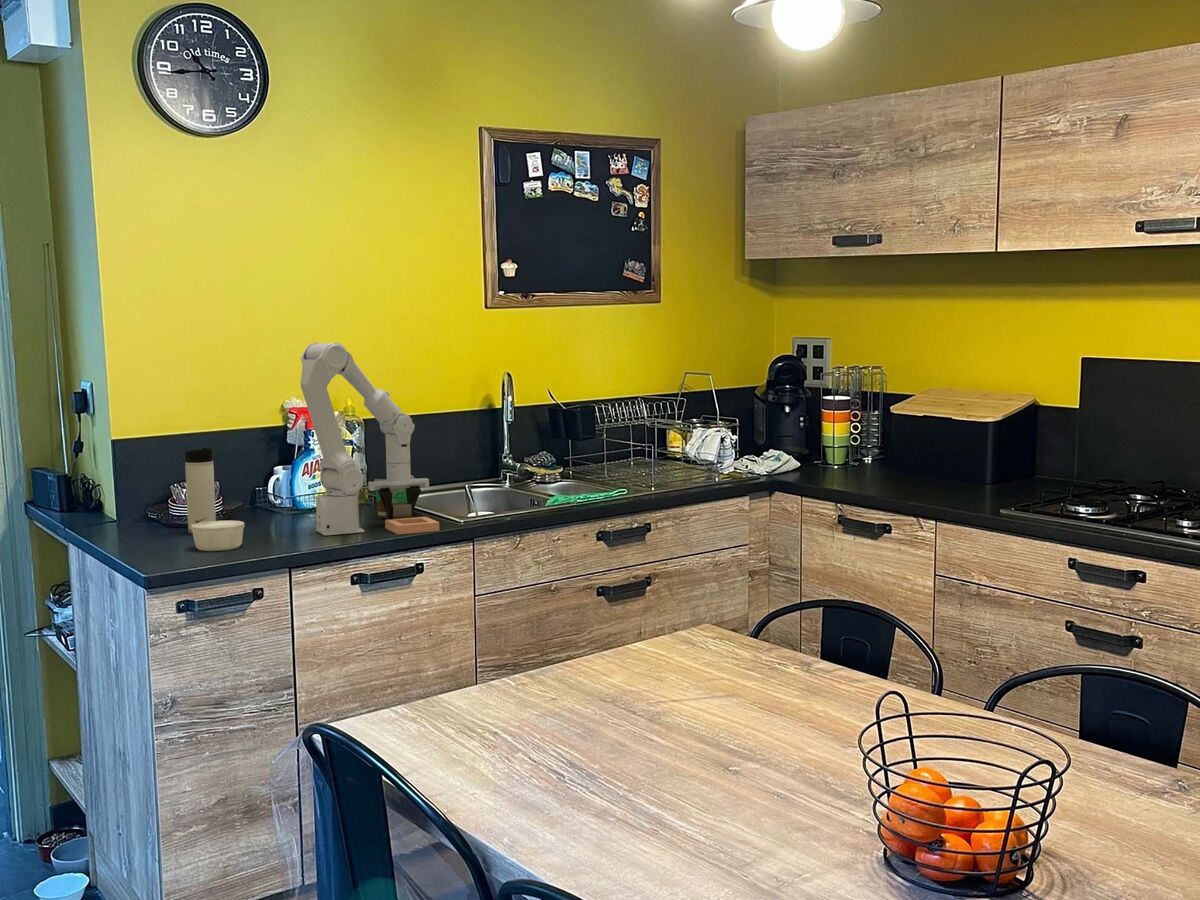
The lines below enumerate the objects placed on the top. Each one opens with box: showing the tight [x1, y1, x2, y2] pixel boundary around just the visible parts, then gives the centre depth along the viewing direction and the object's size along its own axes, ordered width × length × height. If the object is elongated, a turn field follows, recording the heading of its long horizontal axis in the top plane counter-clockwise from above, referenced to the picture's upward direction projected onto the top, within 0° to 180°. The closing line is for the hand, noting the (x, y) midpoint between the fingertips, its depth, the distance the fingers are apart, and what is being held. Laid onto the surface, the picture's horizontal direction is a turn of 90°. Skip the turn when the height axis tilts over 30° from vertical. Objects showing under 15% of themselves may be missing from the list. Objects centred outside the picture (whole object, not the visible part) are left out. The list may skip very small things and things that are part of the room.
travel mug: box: [184, 447, 217, 535], centre depth 278 cm, size 6×7×20 cm
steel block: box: [387, 502, 412, 520], centre depth 287 cm, size 4×4×5 cm
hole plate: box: [384, 516, 440, 535], centre depth 279 cm, size 10×10×2 cm
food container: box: [373, 474, 416, 517], centre depth 299 cm, size 12×6×10 cm, turn 143°
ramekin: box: [191, 520, 245, 552], centre depth 258 cm, size 11×11×5 cm
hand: (399, 518), depth 287 cm, fingers closed on steel block, 4 cm apart
